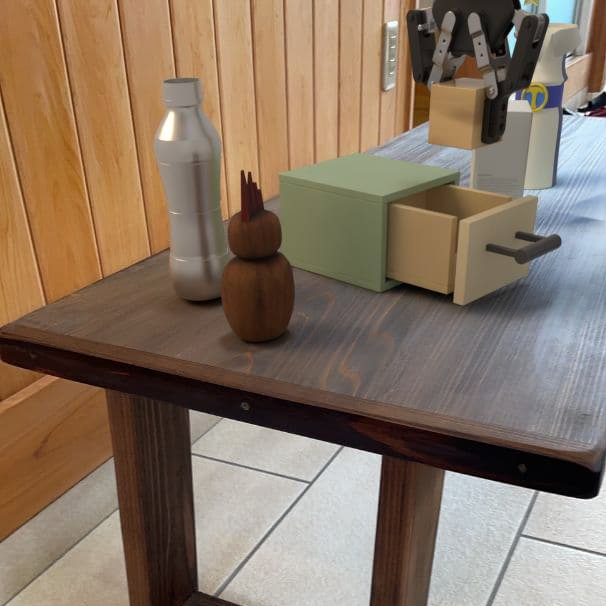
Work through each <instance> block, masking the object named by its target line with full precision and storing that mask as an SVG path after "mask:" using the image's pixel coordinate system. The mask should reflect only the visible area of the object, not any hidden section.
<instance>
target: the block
mask: <svg viewBox="0 0 606 606" xmlns="http://www.w3.org/2000/svg"><path fill="white" fill-rule="evenodd" d="M430 97H431V98H430V100H429V114H430V115H429V117H428V133H427V134H428V135H427V144H429V145H436V146H441V147H447V148H453V149H459V150H465V151H472V150H474V149H478V148H481V147H484V146H488V145H491V144H484V143H482V142H481V132H482V121H483V110H484V100H485V99H488V97H487V95H486V90H485V85H484V80H483V78H482V79H481V78H471V77H460V78H455V80H450V81H446V82H441V83H436V84H432V85H431V93H430ZM501 141H502V136H500V139H499V141H498V142H501ZM498 142H495V143H498ZM492 144H494V143H492Z"/></svg>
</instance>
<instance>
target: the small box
mask: <svg viewBox="0 0 606 606" xmlns="http://www.w3.org/2000/svg"><path fill="white" fill-rule="evenodd" d="M532 117H533V111H532V109H531V106H530V104H529V102H528V100H515V99H509V100H508V109H507V117H506V128H505V132H504V134H503V136H502V141H501V142H498V143H494V144H491V145H488V146H484V147H481V148H478V149H474V150H471V162H470V174H469V184H468V188H472V189H477V190H482V191H488V192H493V193H498V194H503V195H508V196H512V201H514V200H516V199H519V198H522V197H524V190H525V189H524V182H525V174H526V166H527V158H528V150H529V141H530V133H531V125H532Z"/></svg>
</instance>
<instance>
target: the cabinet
mask: <svg viewBox="0 0 606 606" xmlns="http://www.w3.org/2000/svg"><path fill="white" fill-rule="evenodd" d="M460 179H461V171H460V170H457V169H456V170H455V169H452V168H451V169H450V168H445V167H439V166H434V165H428V164H422V163H417V162H412V161H407V160H401V159H394V158H391V157H384V156H379V155H372V154H369V153H361V152H353V153H349V154H347V155H343V156H339V157H335V158H332V159H327V160H323V161H320V162H315V163H312V164H309V165H305V166H301V167H298V168H294V169H291V170H287V171H283V172H279V173H278V195H279V215H280V216H279V217H280V218H279V221H280V224H281V231H282V243H281V253H282V254H283V255H285V257H286V258H287V259H288V261H289V262H290V265H291V267H294V268H298V269H301V270H303V271H308V272H311V273H313V274H317V275H320V276H324V277H327V278H330V279H334V280H337V281H341V282H343V283H347V284H350V285H354V286H358V287H360V288H364V289H367V290H370V291H373V292H377V293H383V292H385V291H388V290H390V289H393V288H395V287H397V286H400V285H402V284H404V283H405V282H402V281H398V280H395V279H391V278H388V277H385V273H386V239H387V203H388V202H391V201H394V200H397V199H400V198H403V197H406V196H409V195H412V194H415V193H418V192H421V191H424V190H427V189H430V188H433V187H436V186H439V185H443V184H451V185H456V186H460V182H461V181H460Z"/></svg>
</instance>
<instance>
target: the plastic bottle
mask: <svg viewBox="0 0 606 606" xmlns="http://www.w3.org/2000/svg"><path fill="white" fill-rule="evenodd" d="M161 91H162V98H161V100H162V105H163V106H165V108H166V109H165V112H164V115H163V116H162V119H161V120H160V122H159V125H158V127H157V130H156V132H155V134H154V139H153V145H152V146H153V152H154V157H155V161H156V165H157V168H158V173H159V176H160V180H161V185H162V188H163V194H164V199H165V200H164V201H165V204H166V207H167V208H166V211H167V217H168V229H169V230H168V231H169V232H168V233H169V251H170V252H169V258H168V276H169V279H170V283H171V286H172V289H173V290H174V292H175V293H176V294H177V295H178V296H179V297H180V298H181V299H184V300H188V301H208V300H209V301H210V300H213V299H217V298H220V297H221V277H222V274H223V271H224V267H225V266H226V265H227V263H228V262H229V261H230V260H231V259H232V258H231V254H230V251H229V247H228V245H227V239H226V232H225V227H224V220H223V215H222V212H223V211H222V203H221V201H222V192H221V191H222V189H221V176H222V153H223V149H222V147H223V145H222V143H223V142H222V139H221V136H220V133H219V131H218V129H217V127H216V126H215V125H214V123H213V121H212V120H211V119H210V117H209V116H208V114H207V113H206V112H205V111H204V110H203V105H202V104H203V103H205V95H204V94H203V93H204V92H203V91H204V90H203V81H202V79H201V78H198V77H175V78H167V79H163V80H162V81H161Z"/></svg>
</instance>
